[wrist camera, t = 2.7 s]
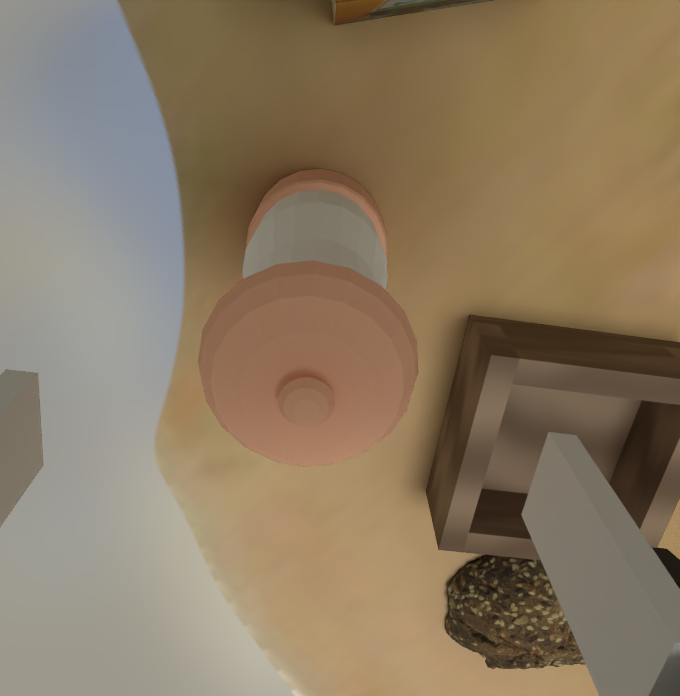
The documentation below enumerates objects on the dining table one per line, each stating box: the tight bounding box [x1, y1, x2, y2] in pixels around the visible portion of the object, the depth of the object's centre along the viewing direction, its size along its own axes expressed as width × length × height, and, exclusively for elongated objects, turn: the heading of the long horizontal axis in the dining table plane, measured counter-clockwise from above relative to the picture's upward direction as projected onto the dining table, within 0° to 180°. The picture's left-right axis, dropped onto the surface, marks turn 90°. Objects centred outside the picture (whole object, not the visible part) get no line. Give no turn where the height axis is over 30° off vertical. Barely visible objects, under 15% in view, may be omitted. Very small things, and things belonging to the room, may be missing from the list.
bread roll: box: [446, 555, 586, 669], centre depth 45 cm, size 13×12×5 cm
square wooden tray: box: [426, 315, 680, 560], centre depth 38 cm, size 13×13×6 cm
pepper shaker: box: [198, 169, 418, 467], centre depth 27 cm, size 7×7×19 cm
